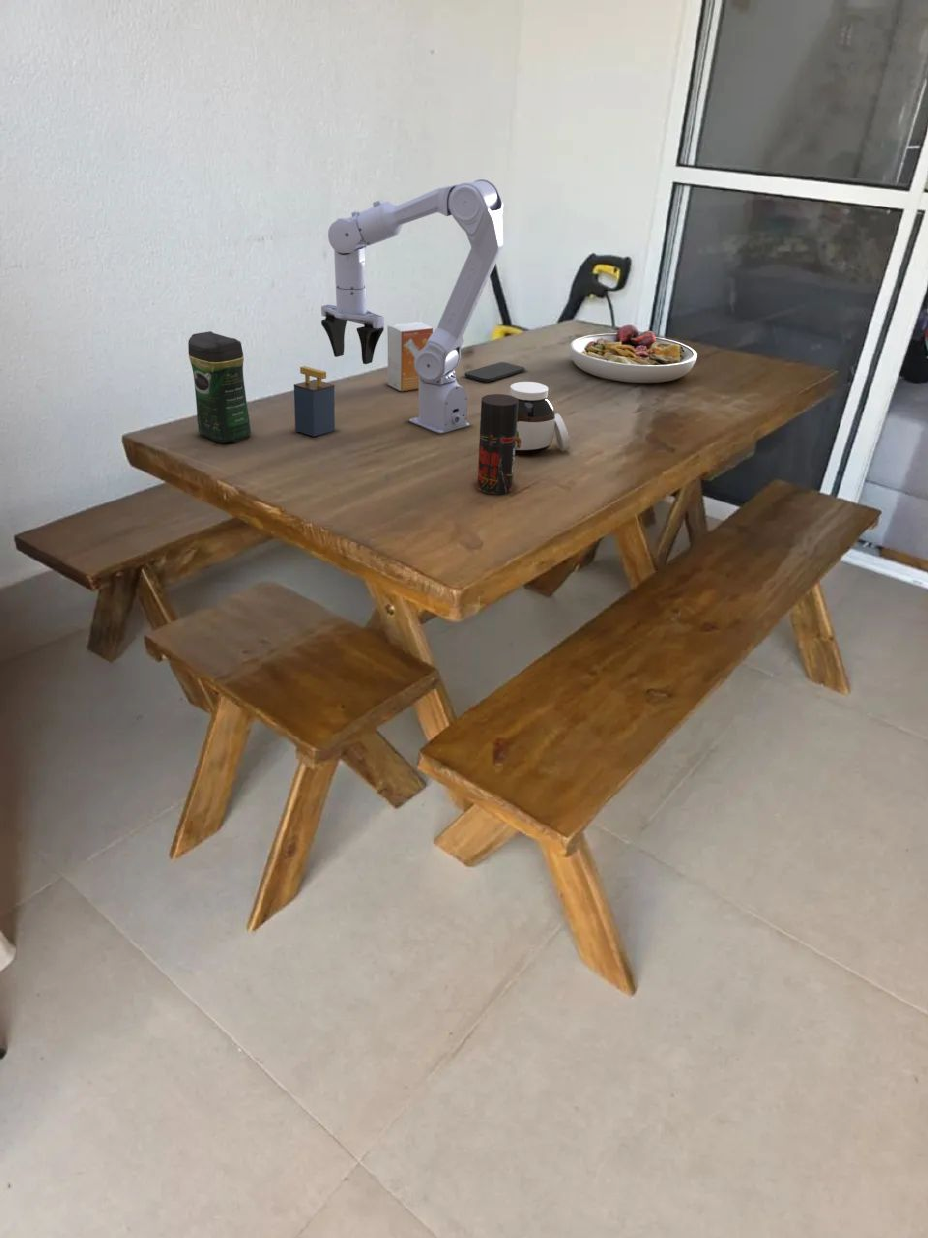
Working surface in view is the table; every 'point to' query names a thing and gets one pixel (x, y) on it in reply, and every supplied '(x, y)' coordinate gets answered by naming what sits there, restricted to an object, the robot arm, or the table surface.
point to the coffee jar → (219, 387)
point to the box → (314, 404)
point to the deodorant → (497, 443)
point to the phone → (494, 371)
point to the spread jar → (537, 420)
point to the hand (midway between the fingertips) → (353, 359)
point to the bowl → (632, 356)
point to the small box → (405, 353)
